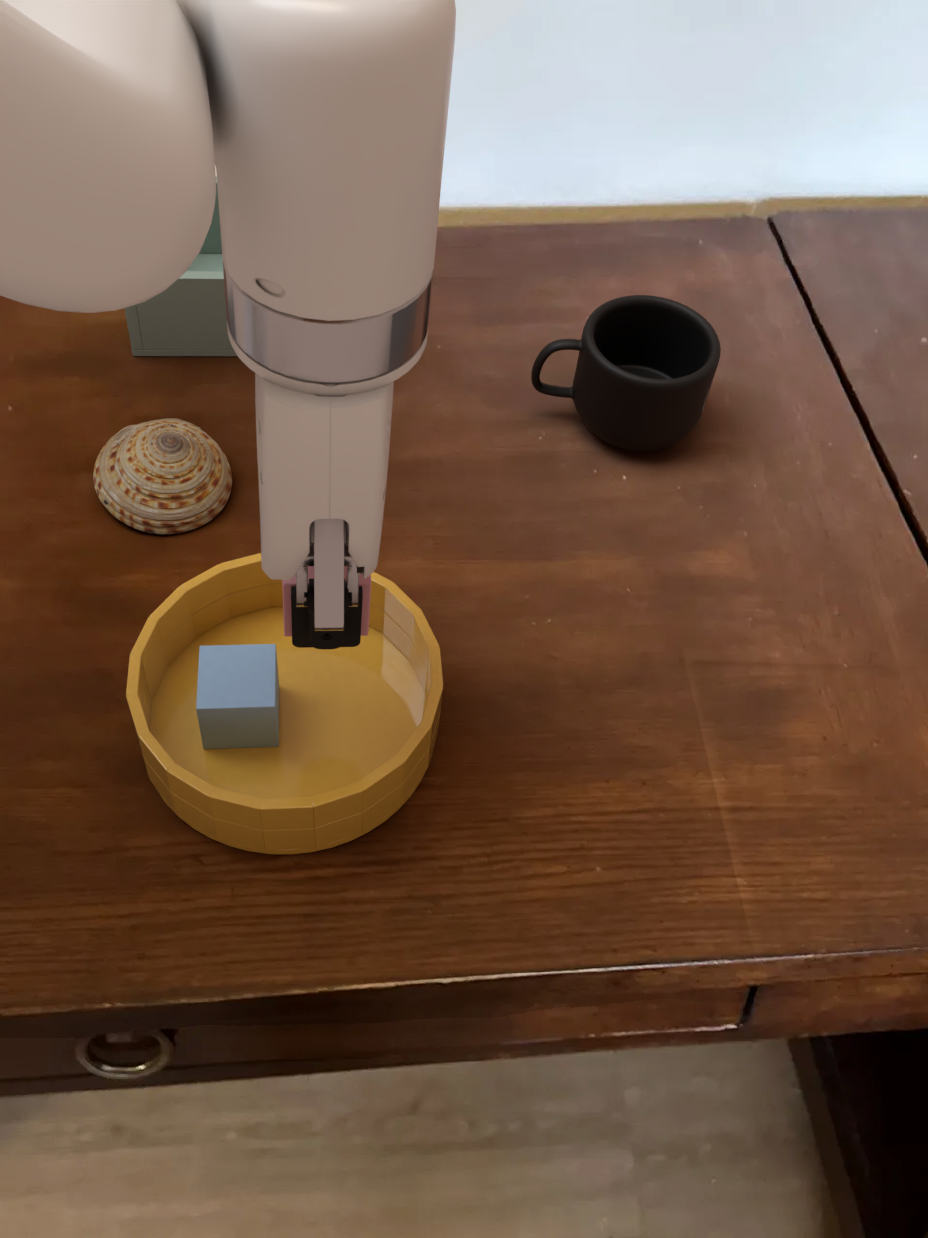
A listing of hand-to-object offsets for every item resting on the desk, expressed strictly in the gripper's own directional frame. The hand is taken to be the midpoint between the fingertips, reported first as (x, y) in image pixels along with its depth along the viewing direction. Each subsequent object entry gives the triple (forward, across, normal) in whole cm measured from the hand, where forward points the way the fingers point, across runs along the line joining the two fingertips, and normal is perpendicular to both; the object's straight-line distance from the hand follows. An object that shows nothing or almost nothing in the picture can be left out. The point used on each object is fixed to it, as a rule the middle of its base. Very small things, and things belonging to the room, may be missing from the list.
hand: (325, 600), depth 59 cm
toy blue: (+10, 0, -4) cm, 11 cm away
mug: (+10, -24, +20) cm, 33 cm away
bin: (+11, -36, -7) cm, 38 cm away
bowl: (+11, 0, -2) cm, 11 cm away
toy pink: (0, 0, 0) cm, 0 cm away
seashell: (+11, -18, -10) cm, 23 cm away
